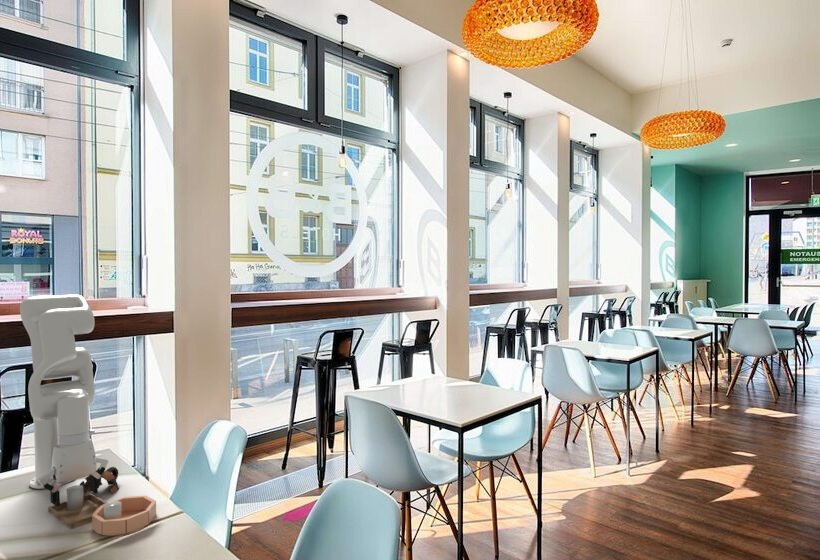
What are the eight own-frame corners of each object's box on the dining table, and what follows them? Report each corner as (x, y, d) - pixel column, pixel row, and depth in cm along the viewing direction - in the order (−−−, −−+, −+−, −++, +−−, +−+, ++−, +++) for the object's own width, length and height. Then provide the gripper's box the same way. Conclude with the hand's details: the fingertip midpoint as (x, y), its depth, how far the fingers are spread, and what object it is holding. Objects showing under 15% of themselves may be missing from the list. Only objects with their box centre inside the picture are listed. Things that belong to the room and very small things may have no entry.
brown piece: (110, 501, 150) (93, 480, 148) (85, 513, 152) (68, 492, 150) (132, 475, 162) (117, 455, 160) (109, 486, 163) (93, 466, 161)
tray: (48, 513, 142) (48, 507, 142) (91, 498, 151) (91, 492, 151) (71, 531, 132) (71, 524, 132) (116, 514, 141) (116, 507, 141)
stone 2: (116, 520, 137) (116, 499, 136) (124, 523, 134) (124, 503, 134) (101, 526, 133) (100, 505, 133) (109, 530, 131) (108, 509, 131)
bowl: (85, 526, 135) (84, 510, 135) (139, 506, 146) (138, 491, 146) (109, 543, 126) (108, 526, 126) (164, 520, 138) (164, 505, 138)
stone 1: (64, 508, 144) (64, 489, 144) (80, 502, 147) (79, 484, 147) (70, 512, 142) (69, 492, 141) (86, 506, 145) (85, 487, 145)
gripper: (101, 428, 153) (102, 484, 153) (32, 444, 139) (34, 506, 139) (112, 432, 148) (114, 490, 149) (43, 449, 134) (45, 513, 135)
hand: (75, 498), depth 144 cm, fingers open, 9 cm apart
